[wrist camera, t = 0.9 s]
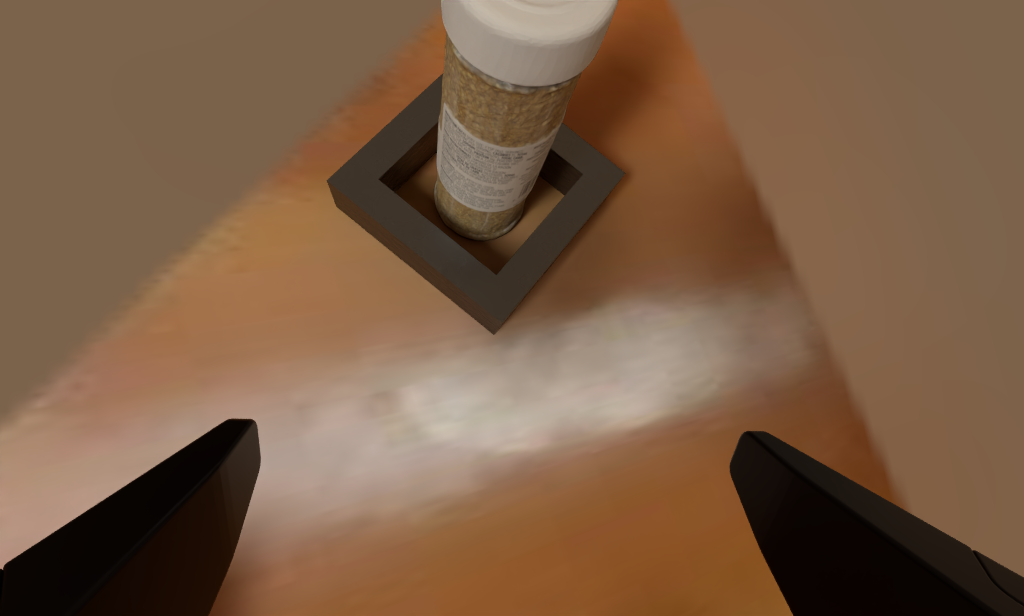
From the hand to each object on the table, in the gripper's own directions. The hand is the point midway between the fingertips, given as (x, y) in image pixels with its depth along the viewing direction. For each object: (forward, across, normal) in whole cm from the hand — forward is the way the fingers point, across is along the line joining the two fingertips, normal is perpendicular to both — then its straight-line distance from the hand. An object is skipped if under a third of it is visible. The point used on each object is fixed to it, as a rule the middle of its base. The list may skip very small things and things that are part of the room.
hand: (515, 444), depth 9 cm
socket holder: (+18, 0, 0) cm, 18 cm away
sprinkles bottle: (+18, 0, 0) cm, 18 cm away
